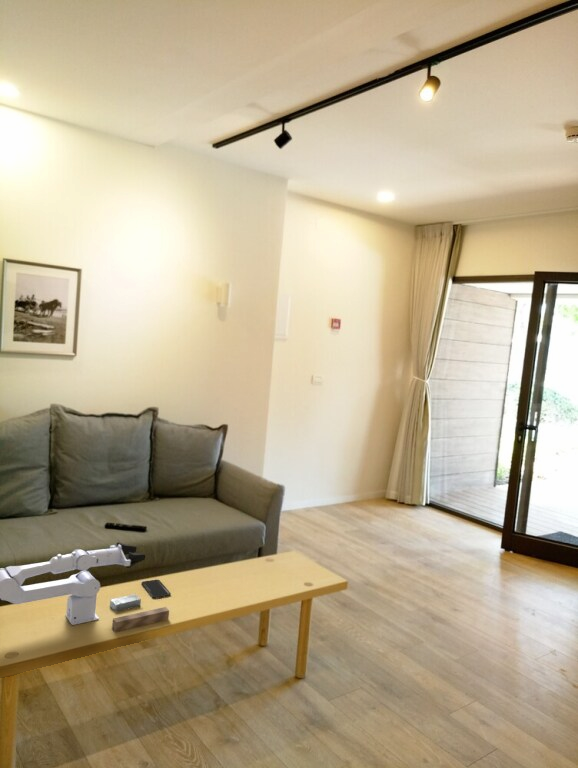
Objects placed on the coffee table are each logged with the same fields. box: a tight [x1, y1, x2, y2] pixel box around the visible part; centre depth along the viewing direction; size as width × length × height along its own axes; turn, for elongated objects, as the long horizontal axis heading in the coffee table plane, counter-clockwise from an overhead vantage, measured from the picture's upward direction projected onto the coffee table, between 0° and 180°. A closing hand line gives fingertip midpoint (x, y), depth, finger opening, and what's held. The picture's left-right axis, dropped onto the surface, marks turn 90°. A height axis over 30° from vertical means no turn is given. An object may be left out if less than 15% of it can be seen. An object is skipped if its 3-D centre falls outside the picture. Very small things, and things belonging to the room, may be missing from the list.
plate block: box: [109, 593, 142, 613], centre depth 211 cm, size 10×5×3 cm, turn 130°
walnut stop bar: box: [111, 606, 170, 633], centre depth 199 cm, size 20×3×4 cm, turn 128°
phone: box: [140, 579, 171, 600], centre depth 227 cm, size 8×1×15 cm
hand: (140, 553), depth 211 cm, fingers open, 7 cm apart
